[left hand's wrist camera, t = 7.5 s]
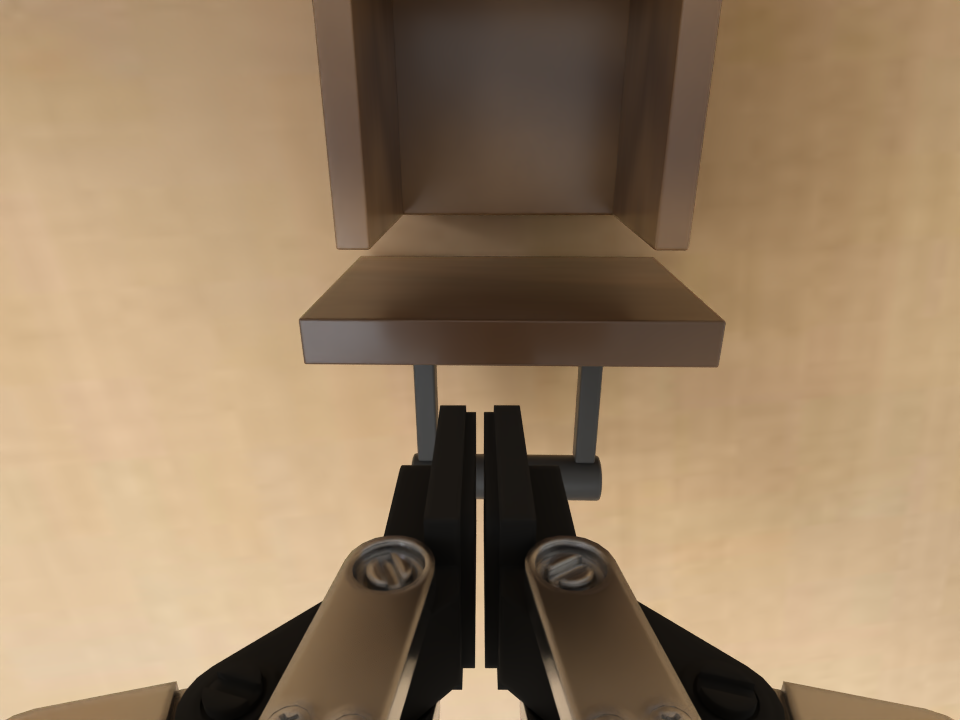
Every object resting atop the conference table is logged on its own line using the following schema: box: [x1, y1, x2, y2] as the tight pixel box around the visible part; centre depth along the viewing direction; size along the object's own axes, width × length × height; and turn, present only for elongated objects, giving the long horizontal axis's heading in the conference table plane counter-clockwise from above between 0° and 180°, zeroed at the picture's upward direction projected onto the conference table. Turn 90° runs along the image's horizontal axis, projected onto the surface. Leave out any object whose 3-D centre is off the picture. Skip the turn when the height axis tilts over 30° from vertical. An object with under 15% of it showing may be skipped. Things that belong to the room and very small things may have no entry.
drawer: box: [299, 0, 725, 501], centre depth 15 cm, size 25×10×7 cm, turn 0°
